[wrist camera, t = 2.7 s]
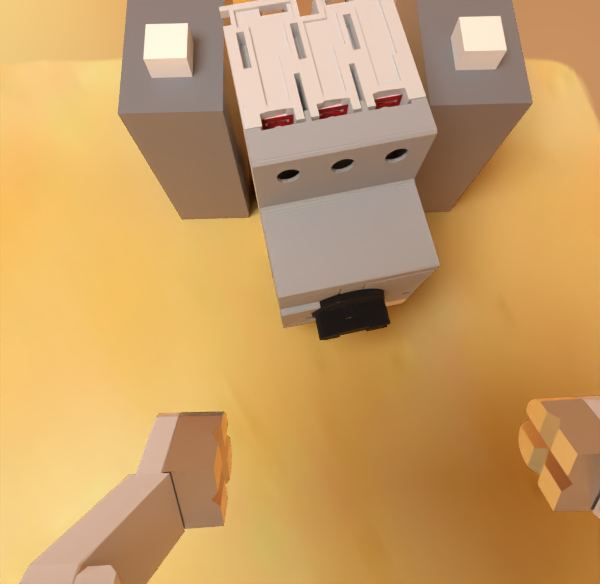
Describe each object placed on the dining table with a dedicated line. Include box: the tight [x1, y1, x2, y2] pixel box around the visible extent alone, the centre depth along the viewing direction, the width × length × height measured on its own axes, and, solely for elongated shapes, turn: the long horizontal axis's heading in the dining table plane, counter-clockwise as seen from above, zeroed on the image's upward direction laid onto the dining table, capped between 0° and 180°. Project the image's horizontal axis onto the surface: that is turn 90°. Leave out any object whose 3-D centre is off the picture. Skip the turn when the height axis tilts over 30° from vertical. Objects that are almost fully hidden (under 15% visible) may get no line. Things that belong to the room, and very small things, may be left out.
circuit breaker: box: [219, 0, 440, 340], centre depth 25 cm, size 8×14×15 cm, turn 12°
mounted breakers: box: [118, 0, 533, 219], centre depth 28 cm, size 10×20×13 cm, turn 92°
